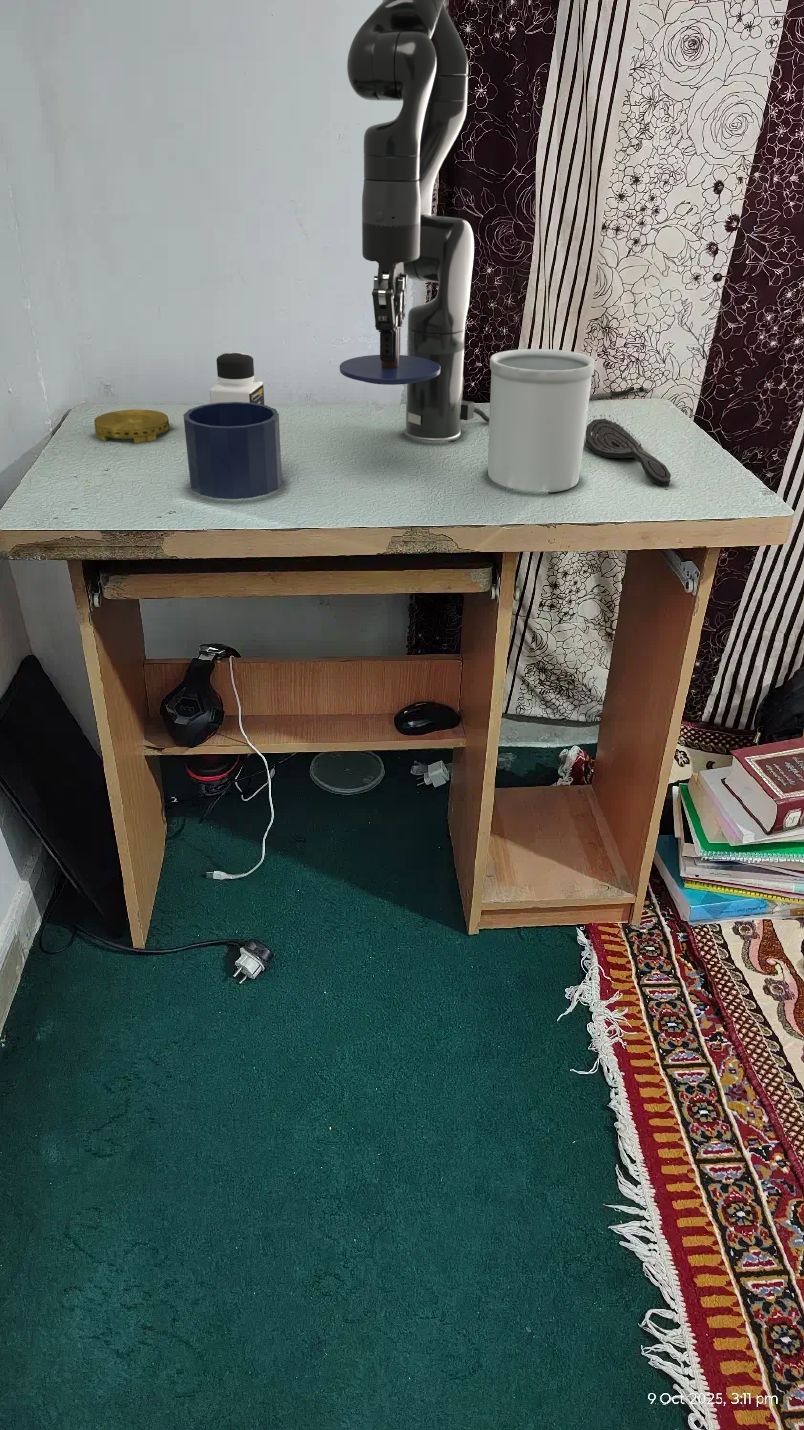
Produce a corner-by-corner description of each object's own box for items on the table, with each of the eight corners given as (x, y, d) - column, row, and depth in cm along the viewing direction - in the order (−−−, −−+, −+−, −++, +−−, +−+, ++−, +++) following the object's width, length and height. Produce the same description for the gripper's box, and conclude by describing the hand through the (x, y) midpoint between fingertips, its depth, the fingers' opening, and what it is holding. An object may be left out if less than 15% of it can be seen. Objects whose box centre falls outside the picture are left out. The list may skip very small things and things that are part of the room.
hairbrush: (643, 470, 145) (577, 414, 164) (639, 493, 147) (574, 436, 166) (694, 466, 146) (623, 412, 166) (689, 490, 149) (619, 434, 168)
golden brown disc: (180, 425, 169) (178, 412, 168) (153, 445, 159) (151, 432, 158) (114, 420, 171) (112, 407, 170) (83, 440, 161) (81, 427, 160)
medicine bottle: (252, 435, 165) (248, 361, 159) (212, 431, 166) (206, 358, 160) (265, 423, 171) (262, 351, 165) (226, 420, 172) (221, 348, 166)
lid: (372, 358, 145) (372, 314, 142) (457, 371, 140) (459, 325, 136) (320, 379, 135) (318, 331, 132) (409, 393, 129) (410, 344, 126)
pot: (228, 467, 151) (223, 397, 145) (298, 482, 146) (296, 410, 140) (172, 491, 141) (164, 418, 136) (244, 509, 136) (239, 433, 130)
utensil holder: (466, 469, 152) (472, 351, 143) (549, 459, 157) (560, 344, 148) (512, 500, 141) (522, 374, 131) (600, 488, 146) (616, 366, 137)
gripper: (411, 227, 121) (408, 372, 130) (427, 214, 132) (424, 348, 141) (351, 224, 122) (353, 369, 131) (373, 212, 133) (373, 346, 142)
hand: (390, 357), depth 136 cm, fingers closed on lid, 2 cm apart
